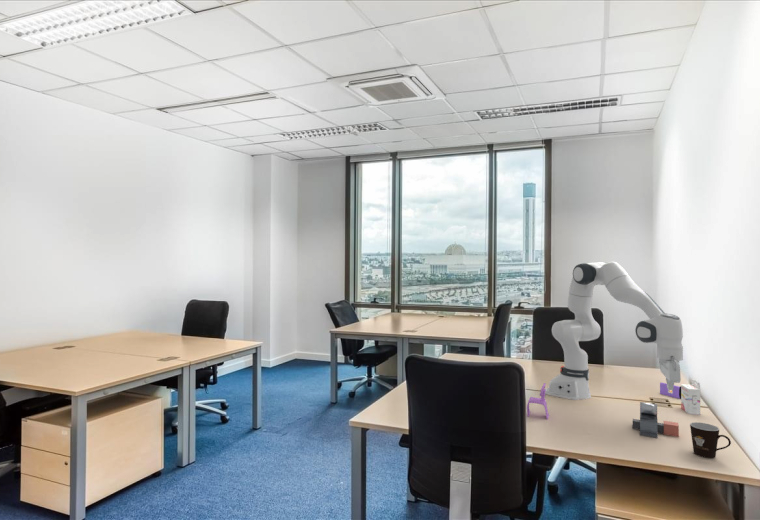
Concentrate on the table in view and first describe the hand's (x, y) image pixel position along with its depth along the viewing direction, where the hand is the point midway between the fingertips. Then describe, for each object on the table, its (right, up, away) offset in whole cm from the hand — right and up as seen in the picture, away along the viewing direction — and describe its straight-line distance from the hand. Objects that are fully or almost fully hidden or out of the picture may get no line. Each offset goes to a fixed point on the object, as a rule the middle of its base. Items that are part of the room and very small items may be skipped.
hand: (670, 389), depth 184 cm
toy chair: (-46, -18, +20) cm, 54 cm away
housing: (-6, -18, +4) cm, 19 cm away
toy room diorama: (+37, -19, +53) cm, 67 cm away
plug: (-4, -18, +3) cm, 19 cm away
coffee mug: (0, -18, -21) cm, 28 cm away
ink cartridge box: (+27, -19, +28) cm, 43 cm away
